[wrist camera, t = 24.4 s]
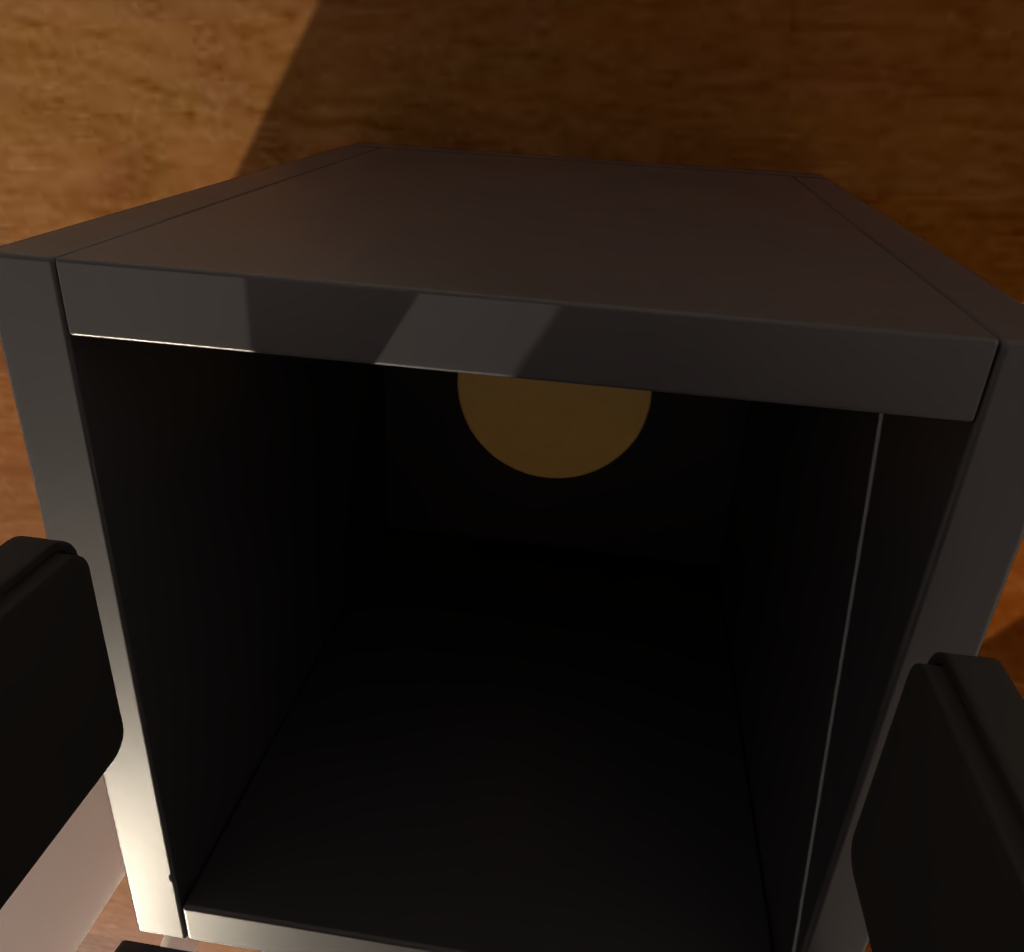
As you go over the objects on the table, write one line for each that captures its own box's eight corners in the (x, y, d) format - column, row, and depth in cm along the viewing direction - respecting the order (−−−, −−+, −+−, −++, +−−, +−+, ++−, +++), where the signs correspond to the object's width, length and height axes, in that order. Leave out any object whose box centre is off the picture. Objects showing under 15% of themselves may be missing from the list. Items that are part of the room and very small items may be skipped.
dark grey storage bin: (356, 142, 22) (-24, 250, 9) (823, 174, 20) (1099, 348, 8) (368, 533, 27) (137, 932, 15) (740, 577, 26) (829, 1051, 13)
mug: (292, 794, 33) (157, 1077, 24) (209, 896, 37) (65, 1176, 27) (15, 635, 31) (-245, 874, 22) (-43, 759, 35) (-287, 1009, 26)
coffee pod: (619, 229, 21) (614, 264, 17) (672, 387, 22) (677, 448, 19) (460, 290, 22) (425, 333, 19) (521, 435, 24) (499, 501, 20)
